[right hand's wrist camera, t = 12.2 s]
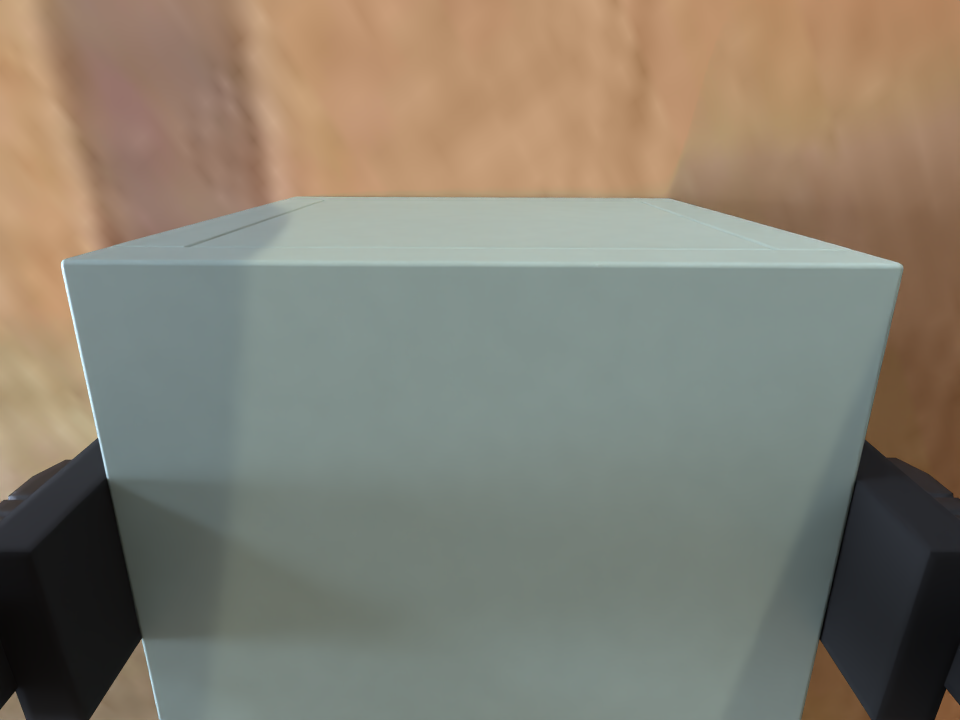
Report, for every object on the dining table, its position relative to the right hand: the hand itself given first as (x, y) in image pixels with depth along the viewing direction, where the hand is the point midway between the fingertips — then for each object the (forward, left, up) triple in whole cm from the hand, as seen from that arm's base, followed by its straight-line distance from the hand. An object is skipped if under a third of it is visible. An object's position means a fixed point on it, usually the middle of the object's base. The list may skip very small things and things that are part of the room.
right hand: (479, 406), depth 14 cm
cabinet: (+2, -7, -4) cm, 8 cm away
